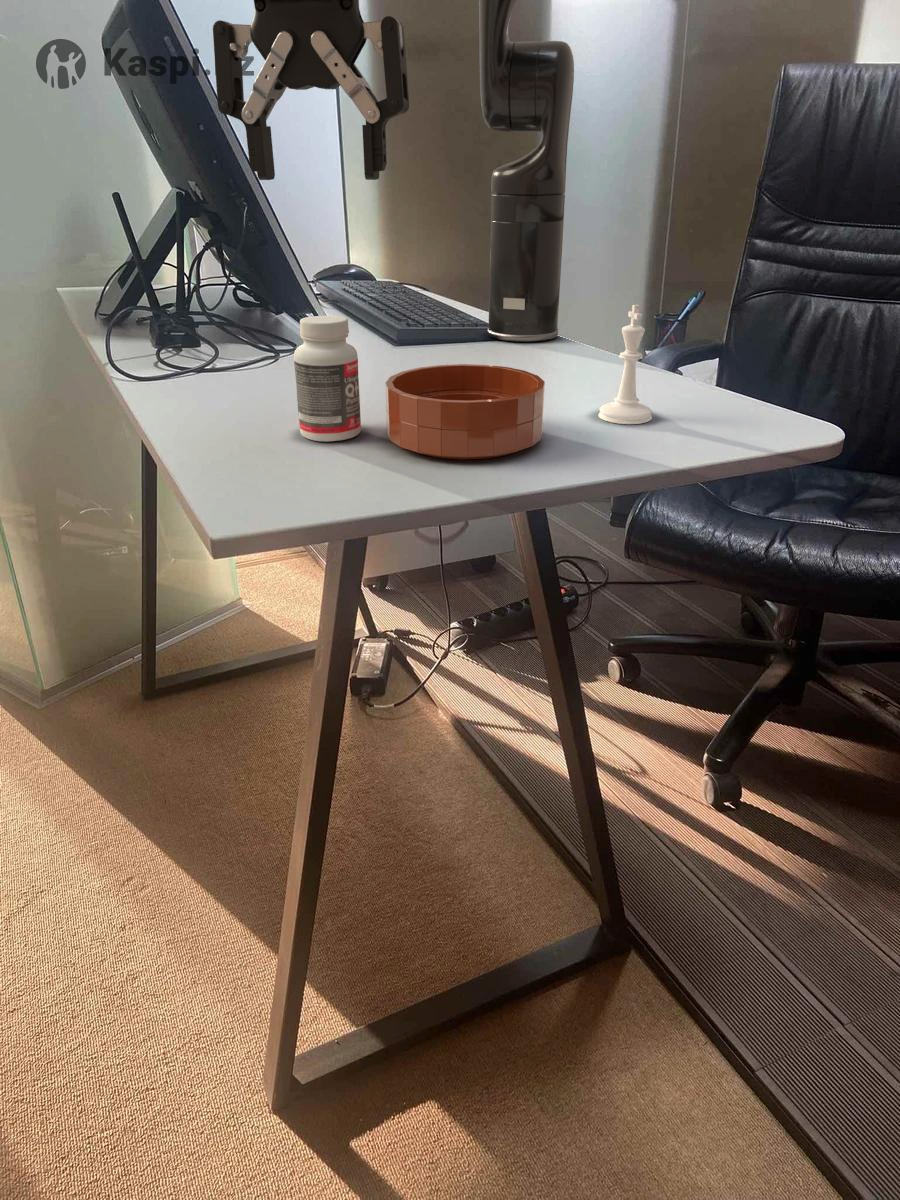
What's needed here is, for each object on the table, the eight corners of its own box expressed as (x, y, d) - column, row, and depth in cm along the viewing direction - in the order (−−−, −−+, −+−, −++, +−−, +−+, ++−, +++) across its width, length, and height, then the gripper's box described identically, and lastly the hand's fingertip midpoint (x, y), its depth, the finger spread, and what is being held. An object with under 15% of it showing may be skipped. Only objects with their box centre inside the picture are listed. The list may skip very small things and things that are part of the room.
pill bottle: (362, 441, 73) (357, 323, 69) (299, 444, 73) (289, 325, 68) (360, 424, 78) (354, 312, 74) (300, 426, 77) (291, 314, 73)
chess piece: (612, 426, 77) (622, 311, 73) (590, 411, 82) (598, 302, 77) (661, 422, 79) (674, 308, 74) (637, 408, 83) (648, 299, 78)
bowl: (403, 416, 80) (402, 362, 78) (544, 421, 79) (547, 366, 77) (373, 460, 69) (370, 399, 67) (537, 468, 67) (540, 405, 65)
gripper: (411, -73, 62) (416, 178, 69) (222, -66, 63) (248, 177, 71) (390, -98, 55) (398, 182, 63) (181, -89, 57) (213, 181, 65)
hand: (318, 179), depth 67 cm, fingers open, 8 cm apart
